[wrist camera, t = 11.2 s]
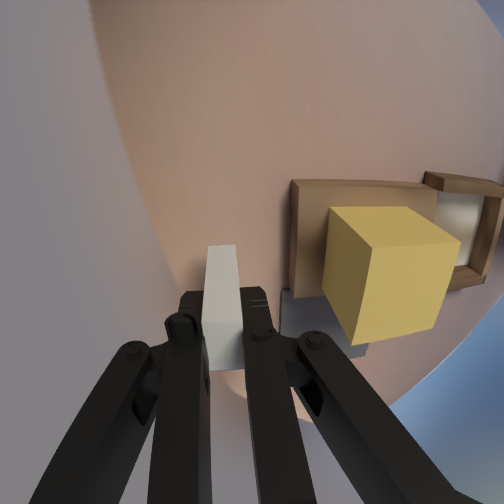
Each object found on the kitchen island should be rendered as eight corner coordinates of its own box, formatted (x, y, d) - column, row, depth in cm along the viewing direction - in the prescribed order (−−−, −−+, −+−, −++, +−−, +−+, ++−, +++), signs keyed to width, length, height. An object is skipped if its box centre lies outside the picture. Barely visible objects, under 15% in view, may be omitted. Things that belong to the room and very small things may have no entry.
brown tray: (292, 164, 18) (301, 171, 16) (491, 180, 20) (509, 188, 17) (287, 294, 23) (294, 313, 20) (470, 271, 24) (483, 283, 22)
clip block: (329, 206, 18) (372, 247, 12) (406, 206, 18) (461, 242, 13) (321, 288, 20) (351, 345, 15) (392, 280, 21) (432, 328, 15)
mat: (281, 289, 22) (282, 292, 22) (383, 279, 23) (385, 281, 23) (278, 366, 26) (278, 369, 26) (363, 353, 27) (364, 355, 27)
